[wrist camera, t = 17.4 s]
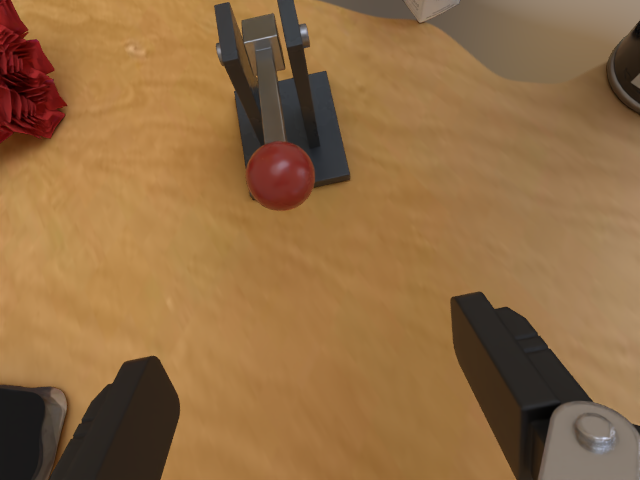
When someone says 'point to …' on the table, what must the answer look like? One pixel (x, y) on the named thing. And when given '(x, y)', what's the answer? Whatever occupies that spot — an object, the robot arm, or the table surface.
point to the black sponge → (29, 431)
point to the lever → (273, 126)
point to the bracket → (285, 97)
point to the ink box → (429, 8)
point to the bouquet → (25, 81)
